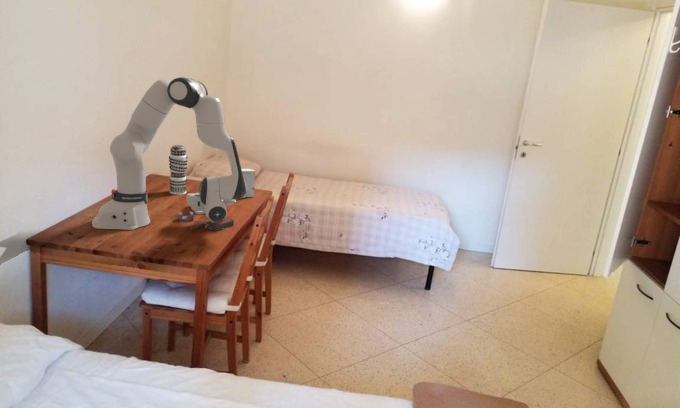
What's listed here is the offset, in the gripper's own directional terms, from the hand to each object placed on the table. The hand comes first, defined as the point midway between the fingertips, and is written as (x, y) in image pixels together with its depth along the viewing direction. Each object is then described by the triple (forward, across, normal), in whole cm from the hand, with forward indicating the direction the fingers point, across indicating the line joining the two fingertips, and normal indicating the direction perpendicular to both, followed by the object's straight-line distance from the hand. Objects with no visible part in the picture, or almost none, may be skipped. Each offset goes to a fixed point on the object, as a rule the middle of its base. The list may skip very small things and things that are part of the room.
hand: (208, 193), depth 217 cm
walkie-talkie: (-14, 0, +12) cm, 18 cm away
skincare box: (+33, -23, +11) cm, 42 cm away
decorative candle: (+41, +11, +11) cm, 44 cm away
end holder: (+11, 0, +11) cm, 16 cm away
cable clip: (-3, +10, +11) cm, 15 cm away
